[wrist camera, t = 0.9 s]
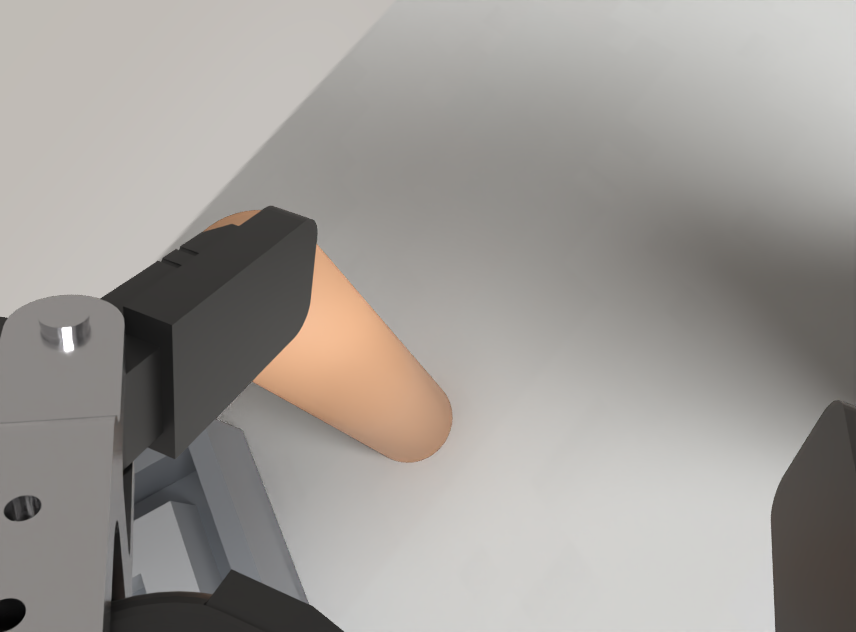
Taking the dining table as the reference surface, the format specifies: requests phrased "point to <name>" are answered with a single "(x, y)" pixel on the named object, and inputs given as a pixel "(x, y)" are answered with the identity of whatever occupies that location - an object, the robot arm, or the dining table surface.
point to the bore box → (206, 519)
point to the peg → (356, 371)
